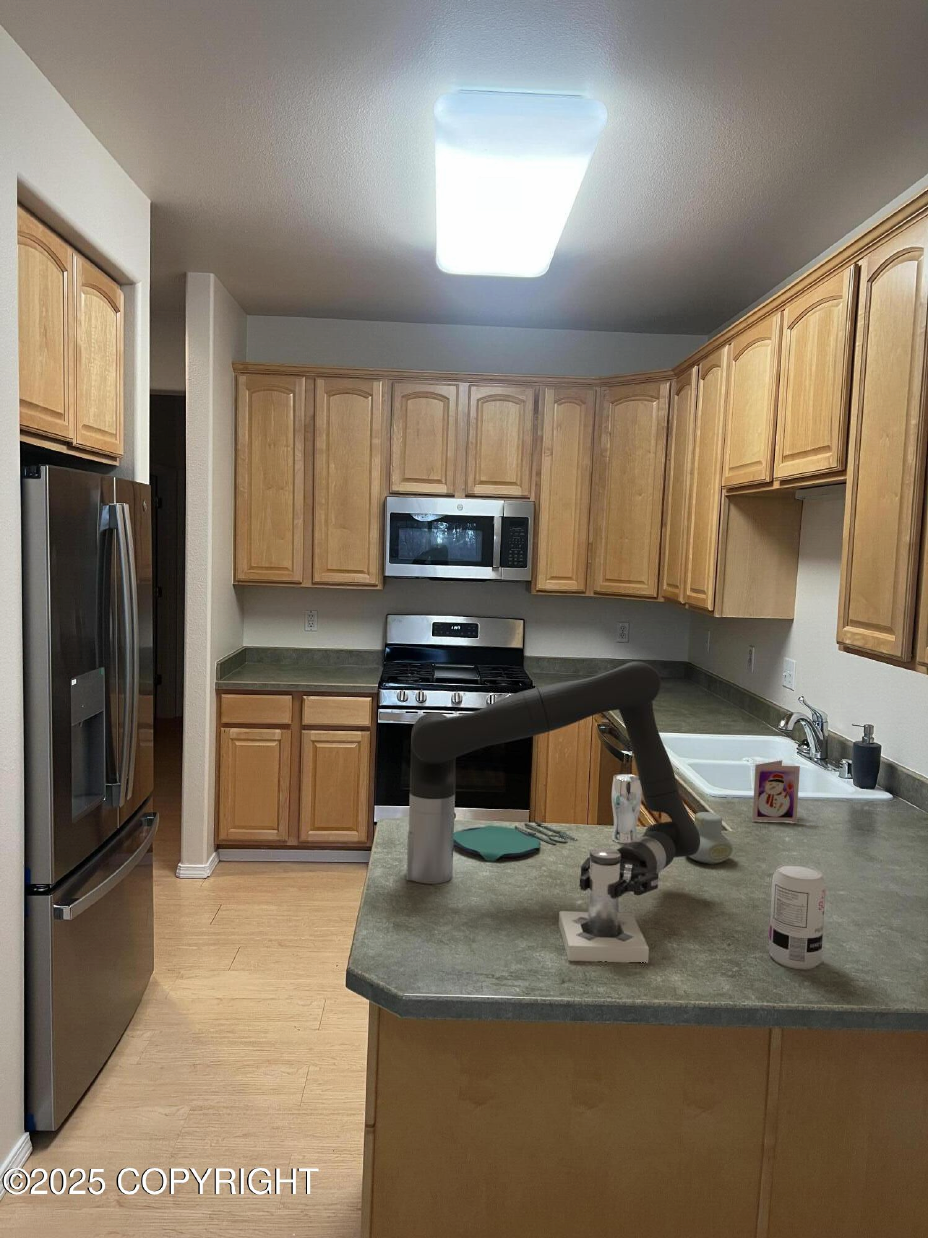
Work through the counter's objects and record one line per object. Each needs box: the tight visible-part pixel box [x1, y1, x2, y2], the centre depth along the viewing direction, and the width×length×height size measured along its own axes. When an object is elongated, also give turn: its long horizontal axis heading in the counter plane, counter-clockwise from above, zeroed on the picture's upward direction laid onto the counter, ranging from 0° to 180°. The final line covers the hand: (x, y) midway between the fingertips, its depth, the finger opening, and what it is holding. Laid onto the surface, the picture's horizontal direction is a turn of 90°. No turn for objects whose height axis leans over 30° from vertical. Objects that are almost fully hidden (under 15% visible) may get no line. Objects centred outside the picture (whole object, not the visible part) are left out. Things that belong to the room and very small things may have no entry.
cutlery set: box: [453, 820, 579, 863], centre depth 200 cm, size 20×30×2 cm, turn 126°
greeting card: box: [752, 759, 801, 823], centre depth 225 cm, size 11×7×15 cm, turn 90°
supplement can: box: [768, 863, 827, 970], centre depth 143 cm, size 8×8×15 cm
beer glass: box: [611, 773, 643, 845], centre depth 204 cm, size 7×7×15 cm
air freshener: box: [688, 811, 734, 865], centre depth 192 cm, size 11×8×10 cm
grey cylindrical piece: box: [587, 847, 621, 938], centre depth 147 cm, size 5×5×14 cm
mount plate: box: [558, 910, 650, 964], centre depth 148 cm, size 13×14×2 cm
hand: (597, 888), depth 145 cm, fingers closed on grey cylindrical piece, 5 cm apart
